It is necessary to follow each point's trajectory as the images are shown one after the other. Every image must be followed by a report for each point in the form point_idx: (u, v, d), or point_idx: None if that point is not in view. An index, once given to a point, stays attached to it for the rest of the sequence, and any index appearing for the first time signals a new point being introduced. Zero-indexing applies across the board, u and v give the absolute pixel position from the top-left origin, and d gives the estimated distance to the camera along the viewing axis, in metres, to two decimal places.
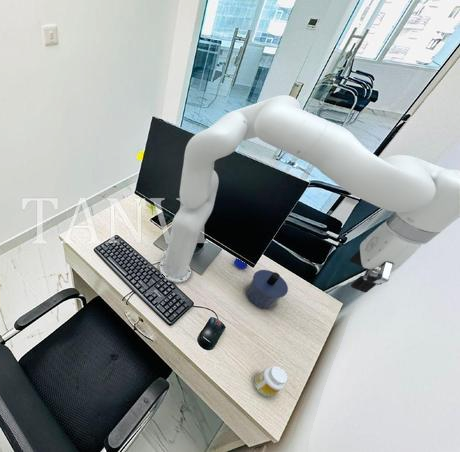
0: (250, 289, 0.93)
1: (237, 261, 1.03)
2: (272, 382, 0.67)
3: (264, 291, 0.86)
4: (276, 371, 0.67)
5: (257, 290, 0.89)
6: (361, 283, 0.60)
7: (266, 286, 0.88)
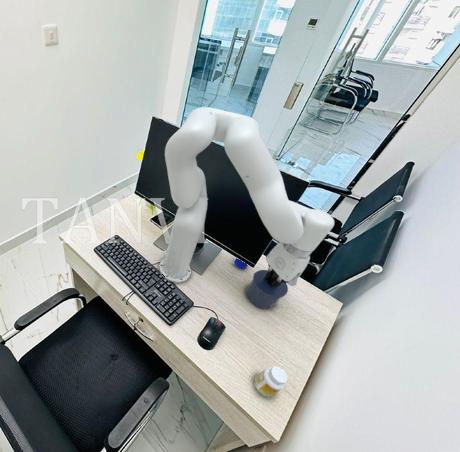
0: (250, 289, 0.93)
1: (237, 261, 1.03)
2: (272, 382, 0.67)
3: (264, 291, 0.86)
4: (276, 371, 0.67)
5: (257, 290, 0.89)
6: (277, 283, 0.85)
7: (266, 286, 0.88)
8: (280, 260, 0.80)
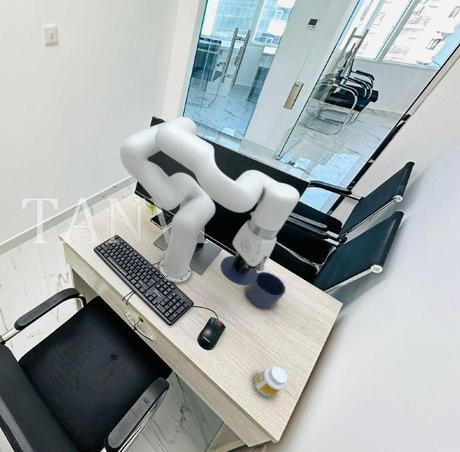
0: (250, 289, 0.93)
1: None
2: (272, 382, 0.67)
3: (231, 278, 0.78)
4: (276, 371, 0.67)
5: (257, 290, 0.89)
6: (245, 269, 0.78)
7: (234, 273, 0.80)
8: (246, 243, 0.72)
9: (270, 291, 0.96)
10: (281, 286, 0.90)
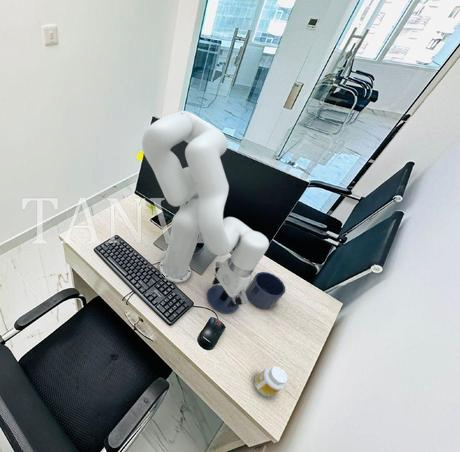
0: (250, 289, 0.93)
1: None
2: (272, 382, 0.67)
3: (215, 307, 0.90)
4: (276, 371, 0.67)
5: (257, 290, 0.89)
6: (233, 304, 0.86)
7: (218, 302, 0.91)
8: (226, 277, 0.84)
9: (270, 291, 0.96)
10: (281, 286, 0.90)
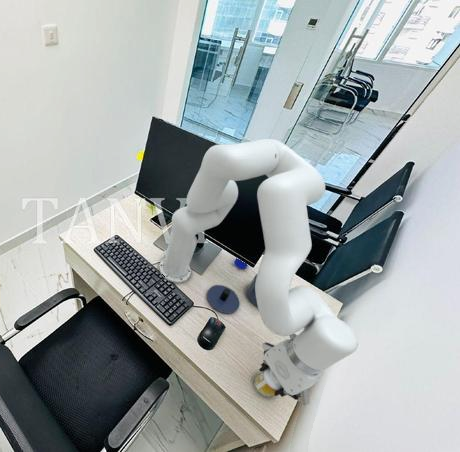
0: (250, 289, 0.93)
1: (237, 261, 1.03)
2: (272, 382, 0.67)
3: (215, 307, 0.90)
4: None
5: None
6: (283, 394, 0.65)
7: (218, 302, 0.91)
8: (282, 367, 0.61)
9: None
10: None
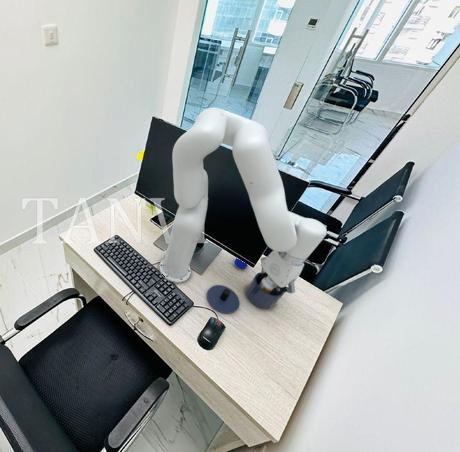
0: (250, 289, 0.93)
1: (237, 261, 1.03)
2: (268, 285, 0.88)
3: (215, 307, 0.90)
4: None
5: (257, 290, 0.89)
6: (276, 292, 0.86)
7: (218, 302, 0.91)
8: (275, 267, 0.82)
9: None
10: None
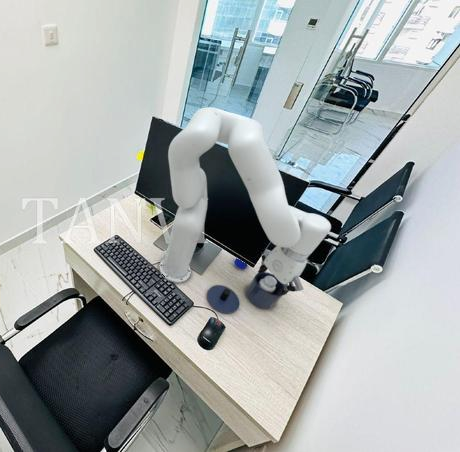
0: (250, 289, 0.93)
1: (237, 261, 1.03)
2: (265, 286, 0.89)
3: (215, 307, 0.90)
4: (268, 278, 0.89)
5: (257, 290, 0.89)
6: (284, 292, 0.83)
7: (218, 302, 0.91)
8: (278, 263, 0.81)
9: None
10: (281, 286, 0.90)
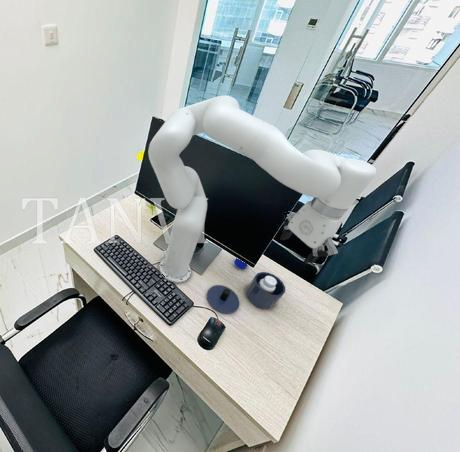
0: (250, 289, 0.93)
1: (237, 261, 1.03)
2: (265, 286, 0.89)
3: (215, 307, 0.90)
4: (268, 278, 0.89)
5: (257, 290, 0.89)
6: (312, 258, 0.72)
7: (218, 302, 0.91)
8: (306, 224, 0.70)
9: None
10: (281, 286, 0.90)
